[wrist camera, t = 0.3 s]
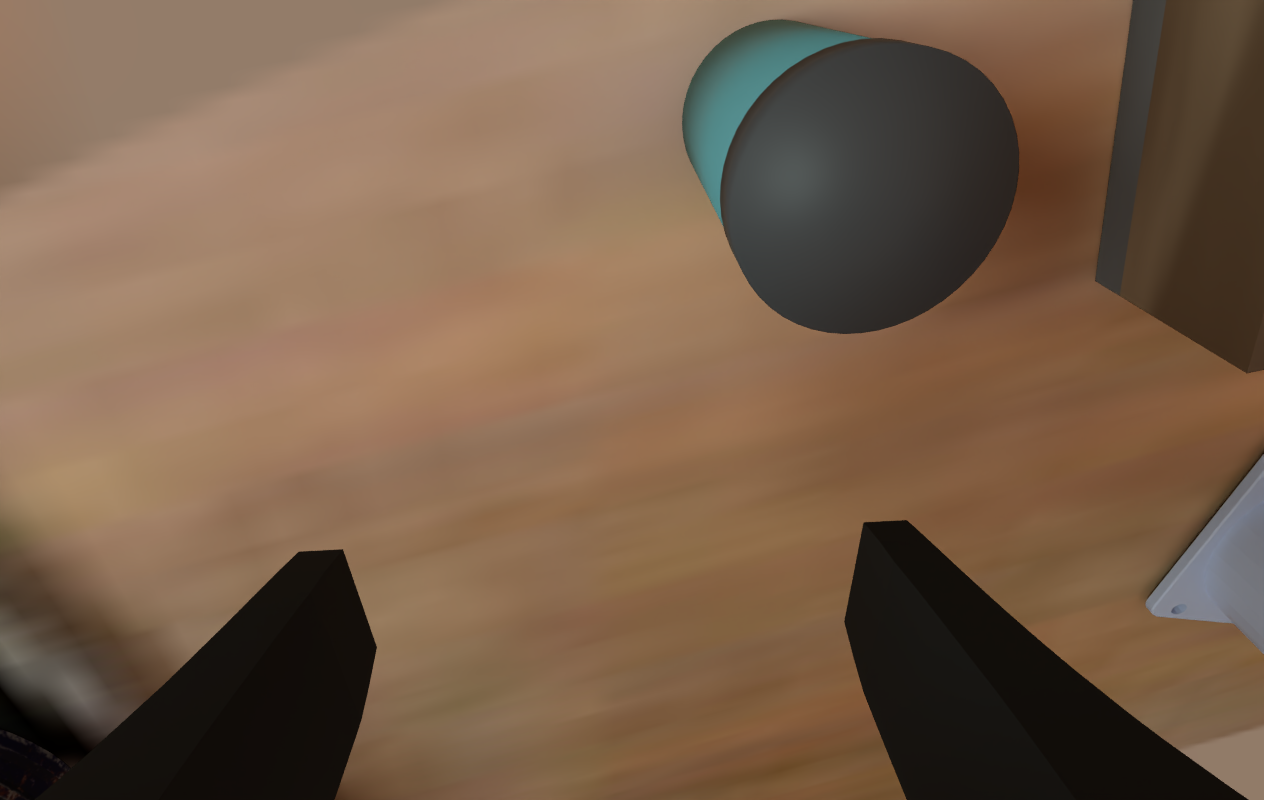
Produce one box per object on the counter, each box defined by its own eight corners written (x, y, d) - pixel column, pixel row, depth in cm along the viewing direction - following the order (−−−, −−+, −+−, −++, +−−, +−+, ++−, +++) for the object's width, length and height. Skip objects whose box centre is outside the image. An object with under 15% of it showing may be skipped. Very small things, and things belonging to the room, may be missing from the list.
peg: (883, 36, 15) (1074, 74, 9) (825, 219, 17) (947, 349, 11) (702, 0, 14) (775, 16, 8) (664, 193, 17) (702, 314, 11)
